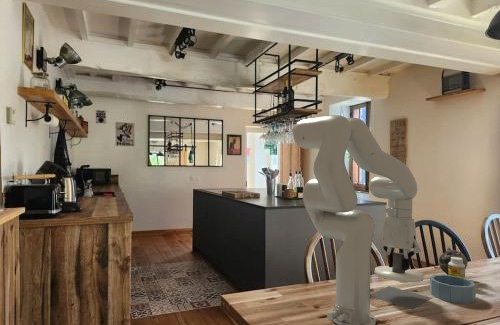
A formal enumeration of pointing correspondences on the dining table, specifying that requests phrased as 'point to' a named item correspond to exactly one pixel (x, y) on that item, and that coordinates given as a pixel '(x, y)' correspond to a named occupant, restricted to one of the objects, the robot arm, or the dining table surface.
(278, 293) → the dining table surface
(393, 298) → the mat
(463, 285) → the bowl
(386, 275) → the lid
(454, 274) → the supplement bottle
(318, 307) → the dining table surface
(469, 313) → the dining table surface
